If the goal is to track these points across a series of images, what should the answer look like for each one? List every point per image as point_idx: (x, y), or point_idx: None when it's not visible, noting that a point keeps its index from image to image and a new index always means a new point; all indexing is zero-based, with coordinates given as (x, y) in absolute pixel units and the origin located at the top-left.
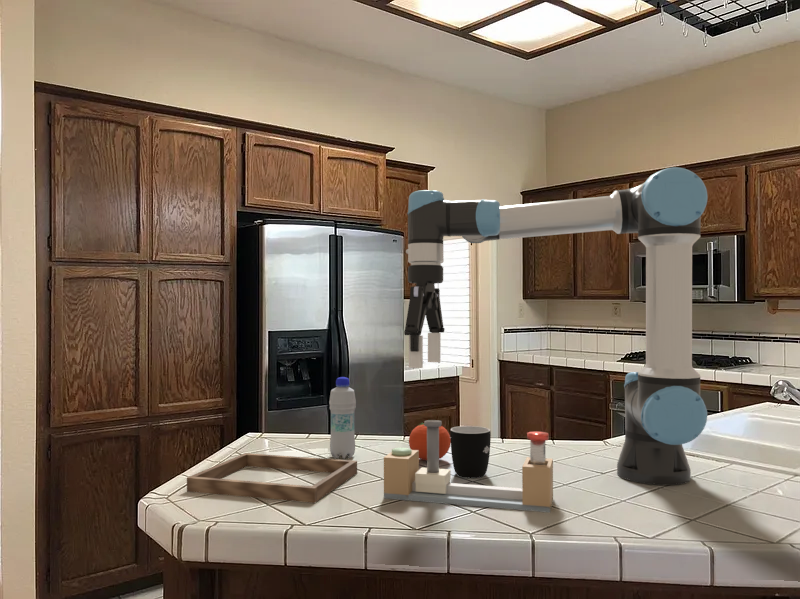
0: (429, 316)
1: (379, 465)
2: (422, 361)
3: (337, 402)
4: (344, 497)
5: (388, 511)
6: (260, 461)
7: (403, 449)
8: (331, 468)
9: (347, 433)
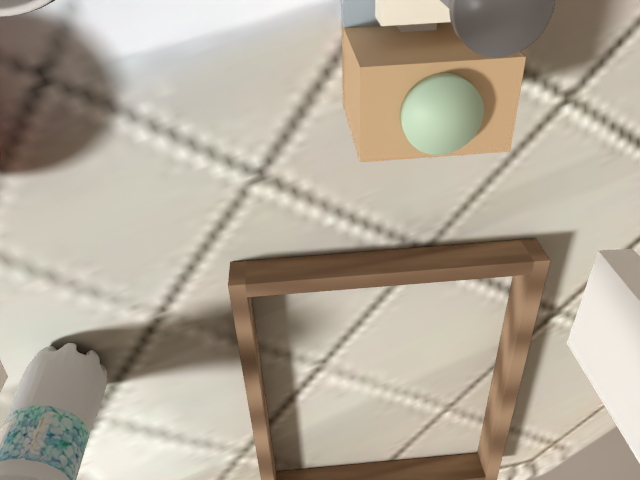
0: None
1: (108, 243)
2: (636, 289)
3: None
4: (476, 196)
5: (594, 34)
6: (273, 463)
7: (435, 113)
8: (254, 325)
9: (68, 405)
